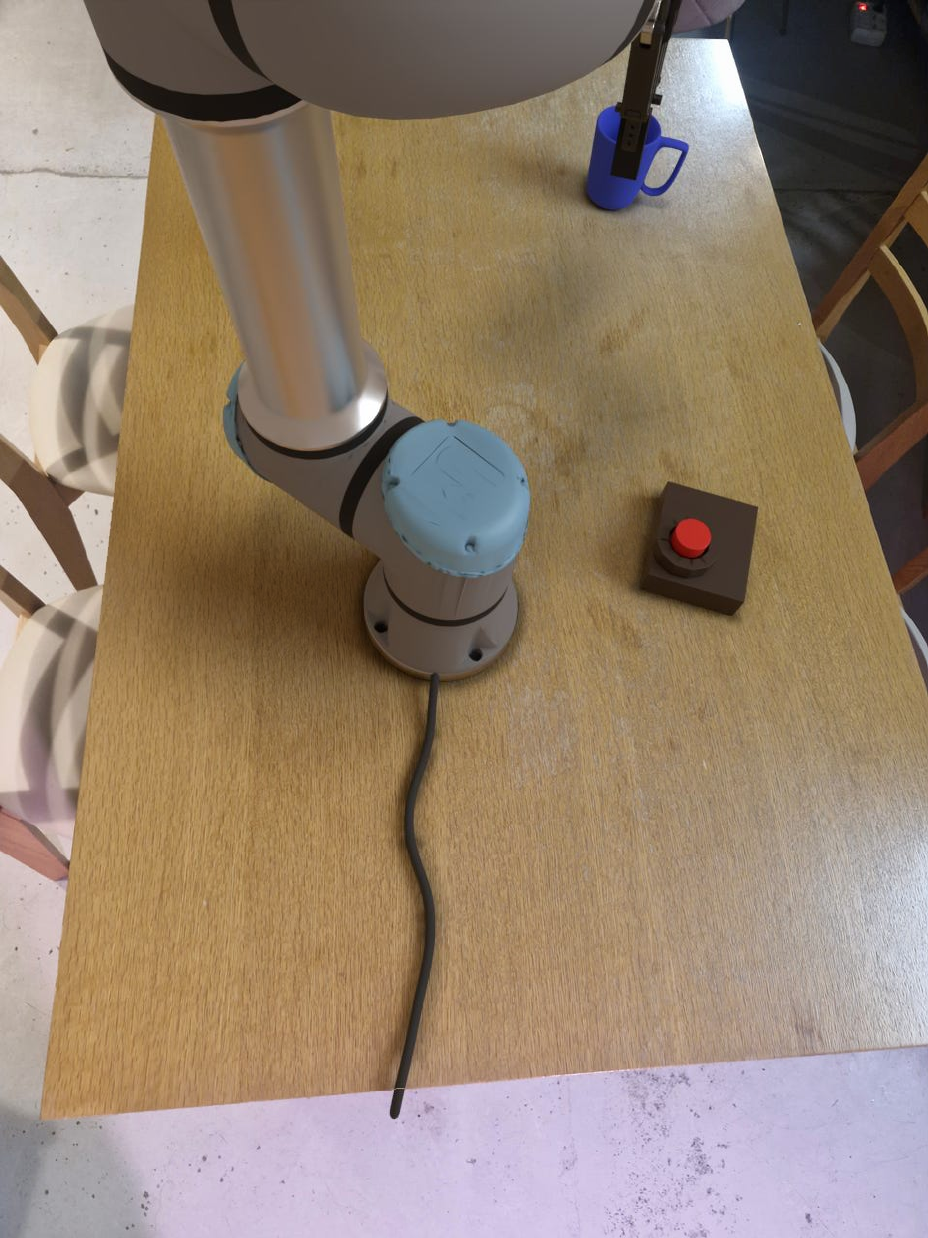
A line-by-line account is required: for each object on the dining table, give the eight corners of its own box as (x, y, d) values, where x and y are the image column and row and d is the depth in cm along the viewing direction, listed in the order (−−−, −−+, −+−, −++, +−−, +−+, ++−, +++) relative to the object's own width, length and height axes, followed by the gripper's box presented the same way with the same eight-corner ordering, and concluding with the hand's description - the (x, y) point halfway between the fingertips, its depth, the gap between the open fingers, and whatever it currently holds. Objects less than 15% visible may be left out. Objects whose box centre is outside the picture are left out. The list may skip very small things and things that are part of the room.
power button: (702, 562, 85) (708, 553, 84) (667, 552, 85) (673, 543, 84) (707, 533, 87) (713, 524, 85) (673, 523, 87) (678, 514, 85)
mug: (664, 229, 113) (689, 160, 104) (575, 209, 113) (592, 138, 104) (670, 188, 116) (694, 118, 107) (584, 169, 116) (601, 97, 107)
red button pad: (732, 616, 88) (751, 594, 84) (637, 588, 88) (651, 564, 84) (746, 522, 93) (765, 497, 89) (656, 496, 94) (670, 470, 89)
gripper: (718, -70, 63) (648, 219, 83) (743, -140, 69) (672, 145, 89) (618, -88, 64) (573, 203, 84) (652, -155, 70) (602, 131, 90)
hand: (624, 173), depth 87 cm, fingers closed
